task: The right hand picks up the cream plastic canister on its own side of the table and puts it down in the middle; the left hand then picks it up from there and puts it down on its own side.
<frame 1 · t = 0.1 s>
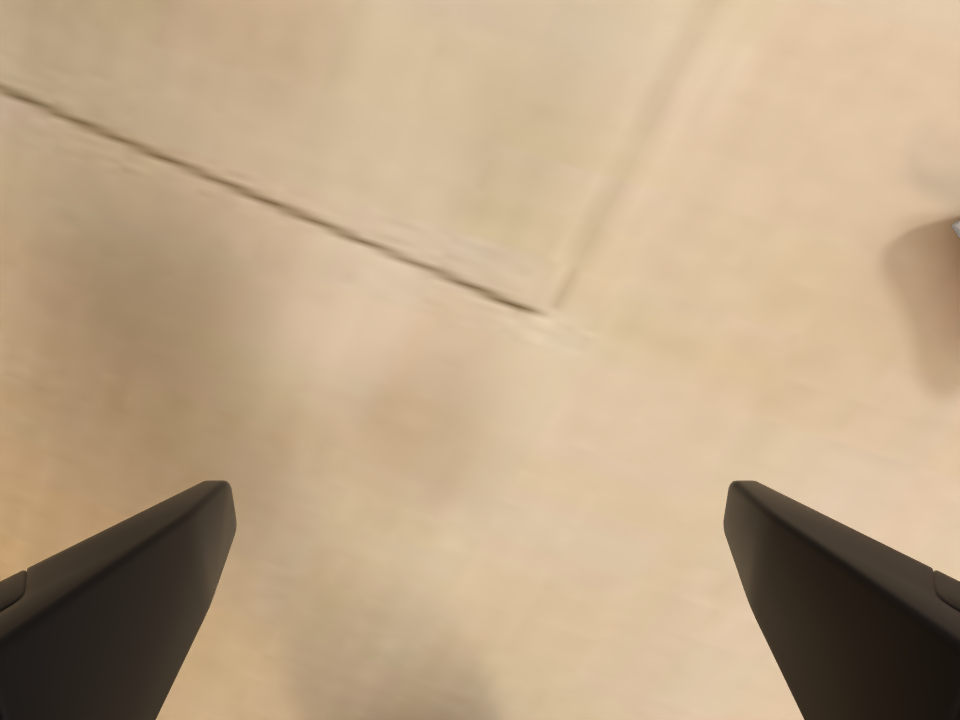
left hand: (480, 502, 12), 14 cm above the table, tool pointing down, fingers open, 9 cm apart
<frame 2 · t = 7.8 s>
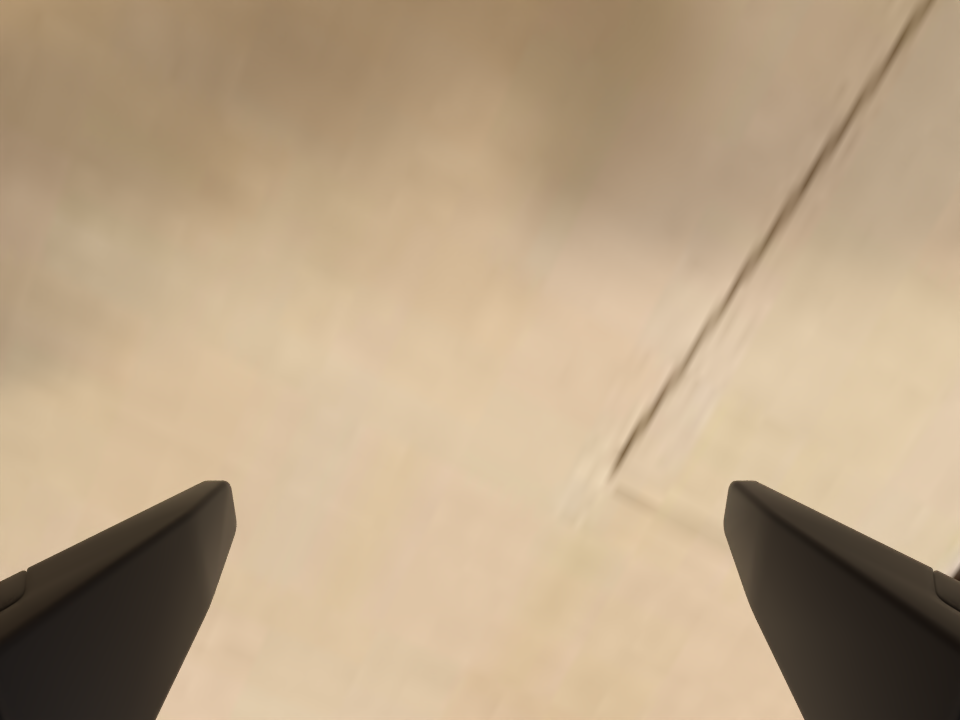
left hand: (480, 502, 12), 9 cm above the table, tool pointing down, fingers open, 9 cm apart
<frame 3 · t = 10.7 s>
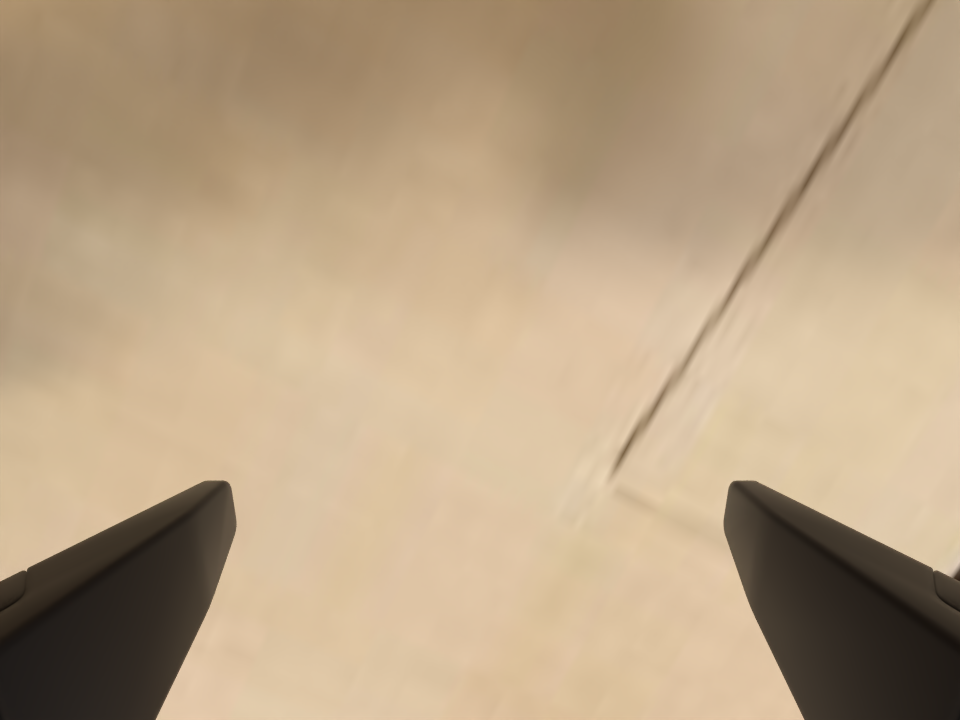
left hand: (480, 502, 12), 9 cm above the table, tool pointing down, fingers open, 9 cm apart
when the right hand's fingers open (0 cm above the table, at t = 13.7 s): canister stays where it is, on the table.
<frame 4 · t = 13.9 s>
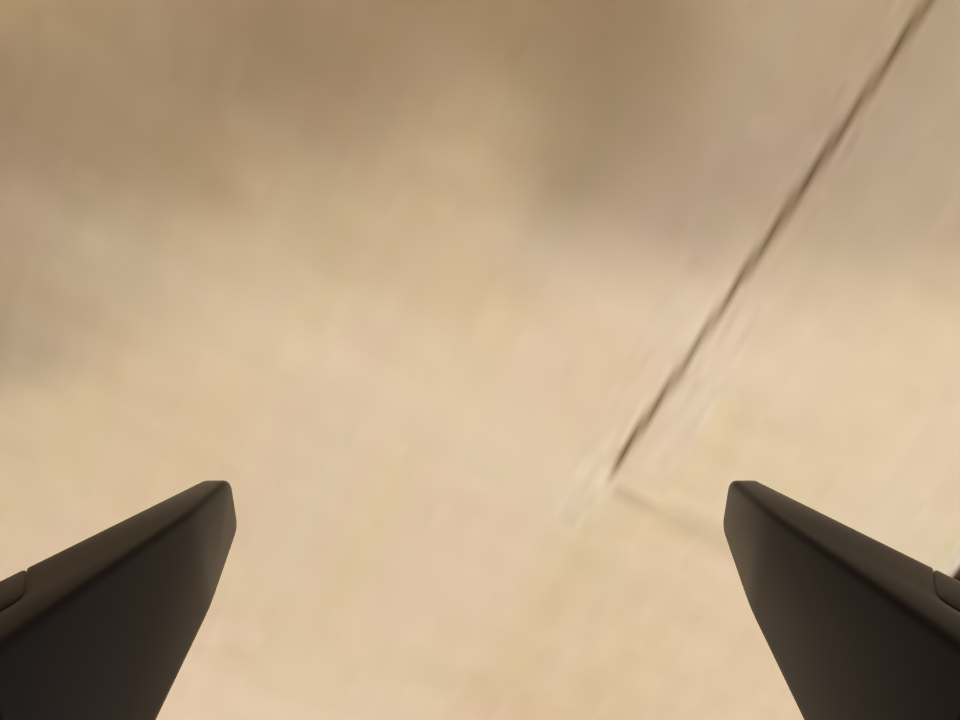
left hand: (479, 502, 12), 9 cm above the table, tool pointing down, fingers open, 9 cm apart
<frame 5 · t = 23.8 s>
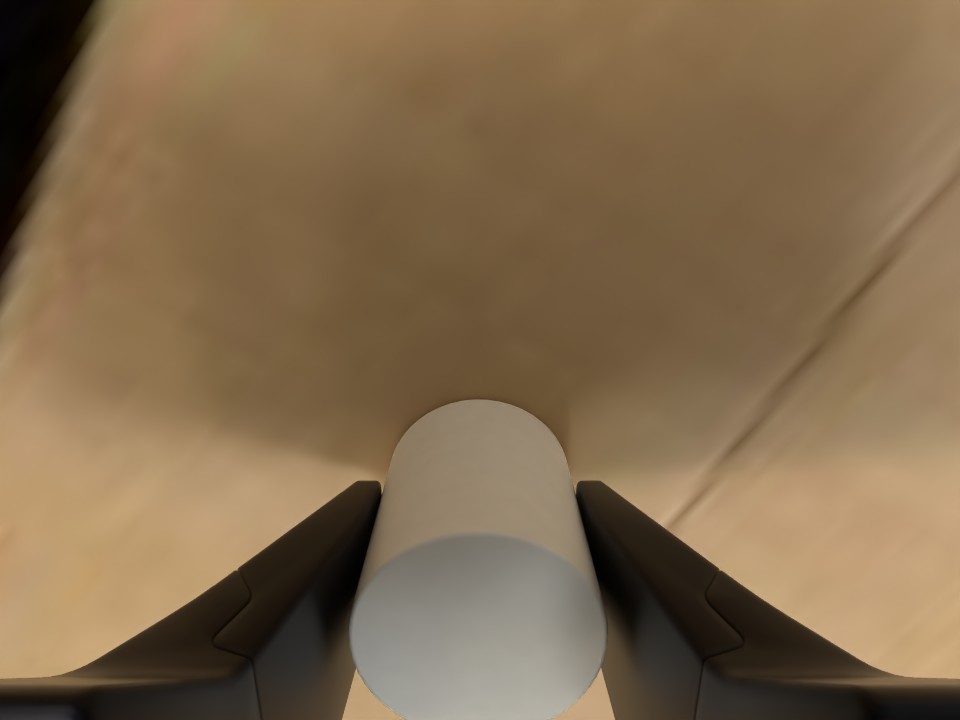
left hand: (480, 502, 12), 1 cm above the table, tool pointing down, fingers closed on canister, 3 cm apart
canister: (478, 480, 13), on the table, touching left hand
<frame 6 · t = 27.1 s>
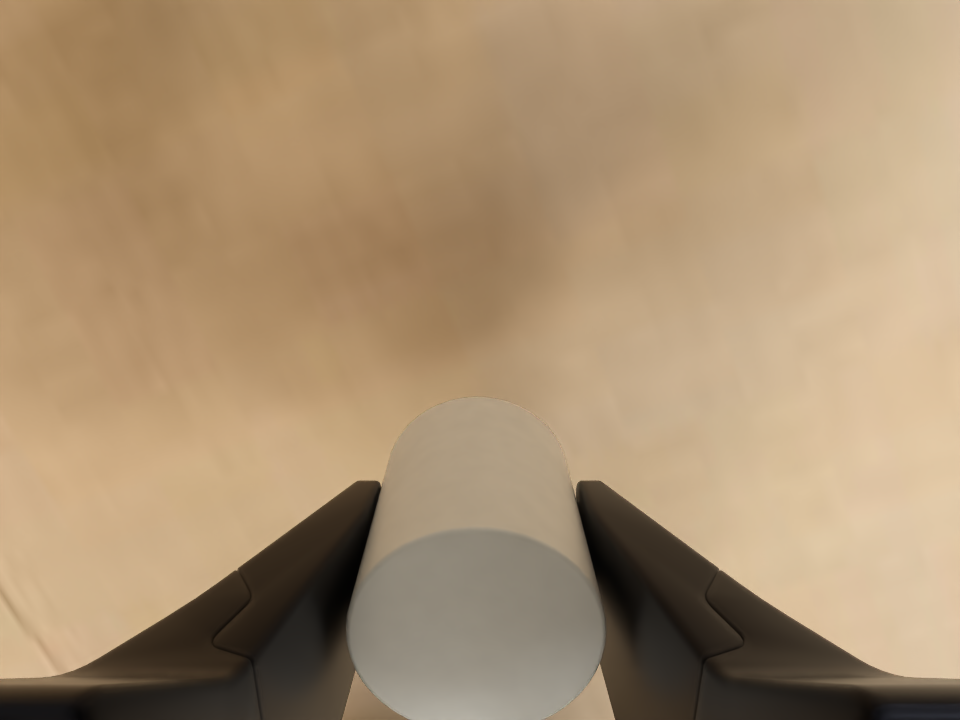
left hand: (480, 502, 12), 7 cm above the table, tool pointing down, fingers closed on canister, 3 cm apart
canister: (477, 477, 12), point 6 cm above the table, touching left hand
when the left hand's fingers open (2 cm above the table, at t = 30.5 s): canister stays where it is, on the table.
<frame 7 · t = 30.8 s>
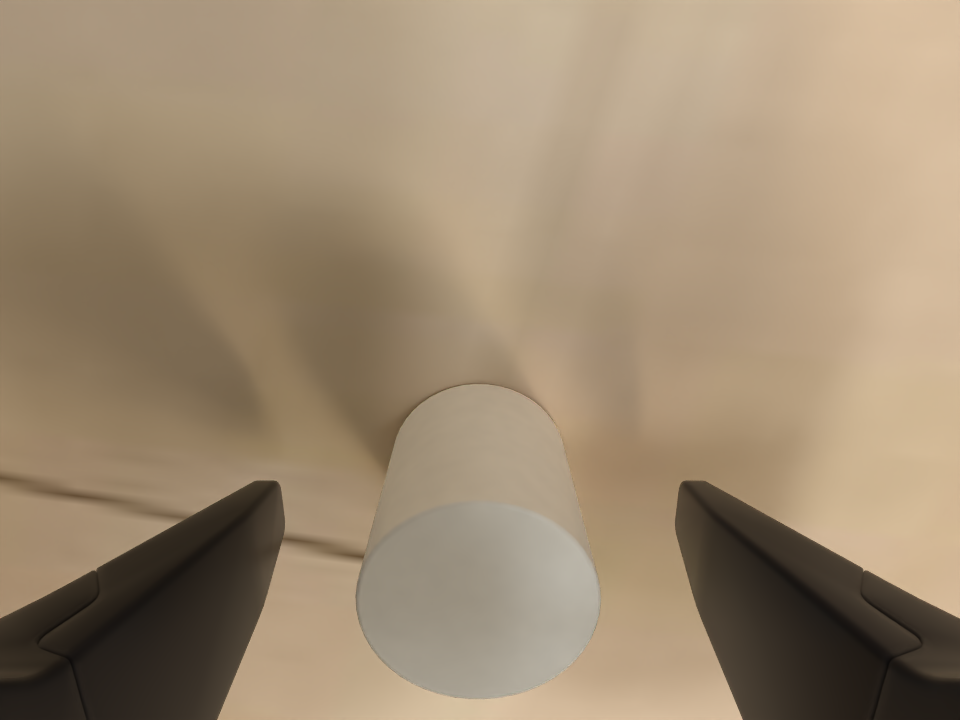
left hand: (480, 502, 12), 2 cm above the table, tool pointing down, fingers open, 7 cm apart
canister: (478, 462, 13), on the table
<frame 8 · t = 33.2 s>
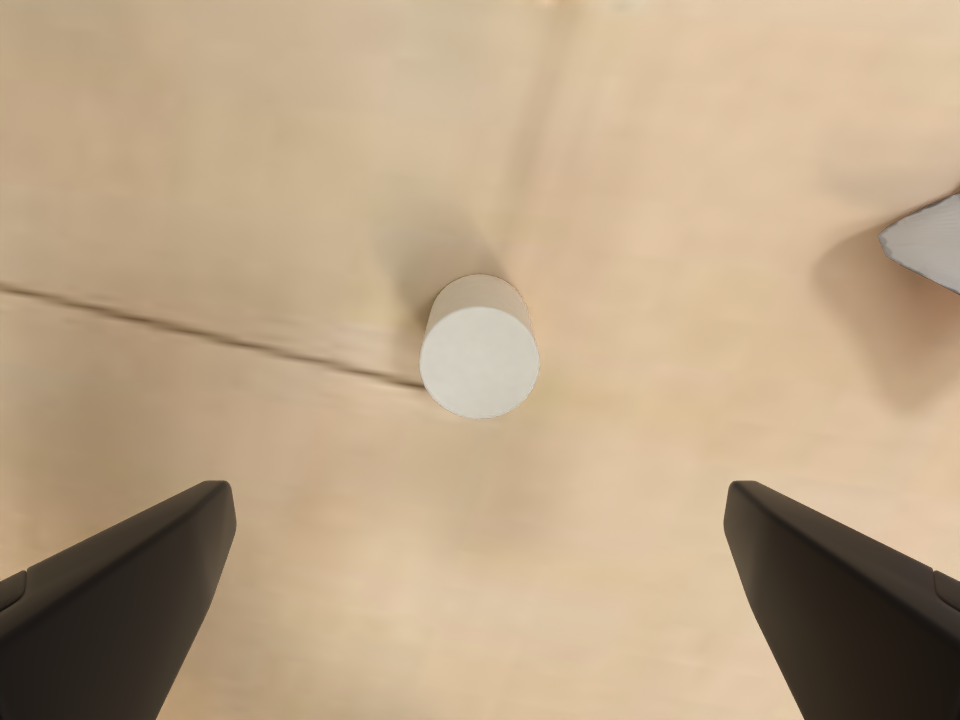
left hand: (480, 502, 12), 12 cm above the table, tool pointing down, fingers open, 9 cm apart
canister: (479, 323, 22), on the table
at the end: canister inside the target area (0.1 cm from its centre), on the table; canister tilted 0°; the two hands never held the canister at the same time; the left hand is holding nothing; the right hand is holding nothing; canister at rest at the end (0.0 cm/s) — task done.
